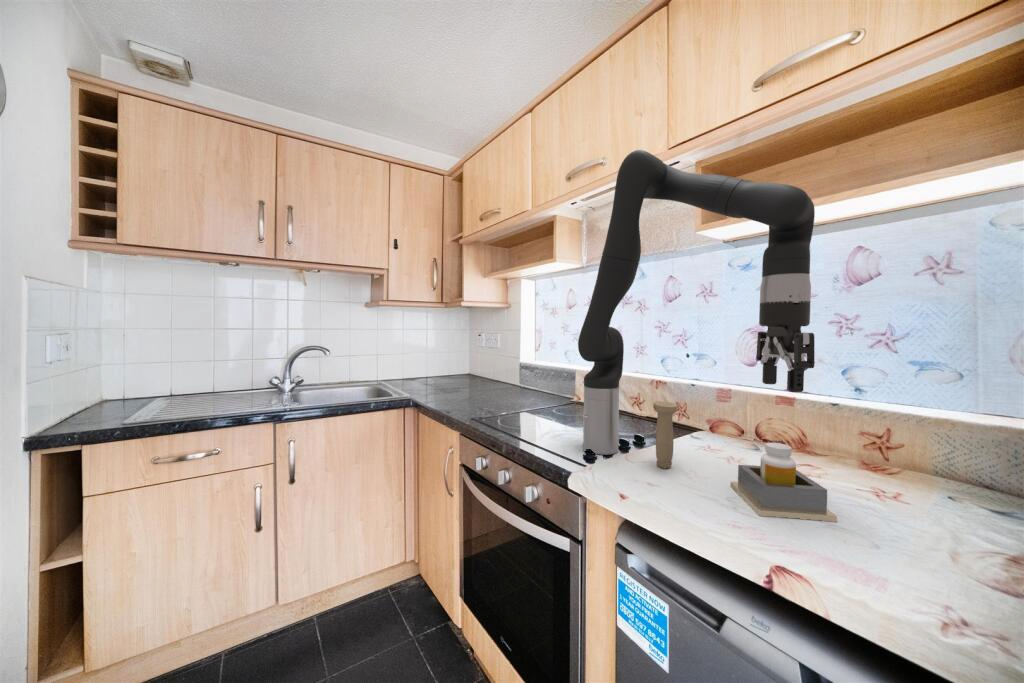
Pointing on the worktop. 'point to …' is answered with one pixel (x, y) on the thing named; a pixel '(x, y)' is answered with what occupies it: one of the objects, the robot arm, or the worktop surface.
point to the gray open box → (783, 496)
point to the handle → (664, 433)
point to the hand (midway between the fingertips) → (781, 387)
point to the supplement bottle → (778, 464)
